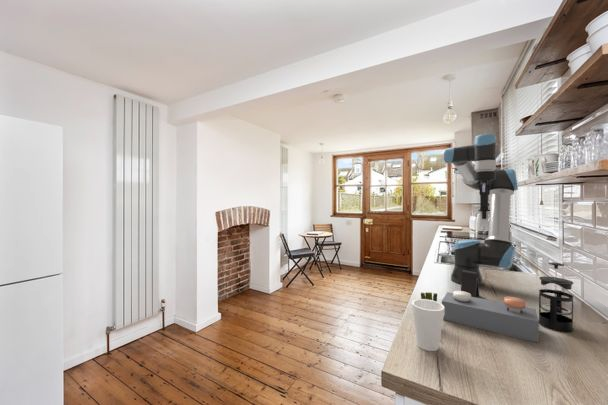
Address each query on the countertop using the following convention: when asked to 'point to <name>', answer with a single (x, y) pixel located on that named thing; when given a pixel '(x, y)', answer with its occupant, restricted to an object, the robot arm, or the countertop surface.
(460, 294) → the white rounded knob
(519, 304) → the orange ball knob
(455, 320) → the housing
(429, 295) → the fennel bulb
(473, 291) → the phone stand
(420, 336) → the foam cup
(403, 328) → the countertop surface
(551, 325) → the french press
